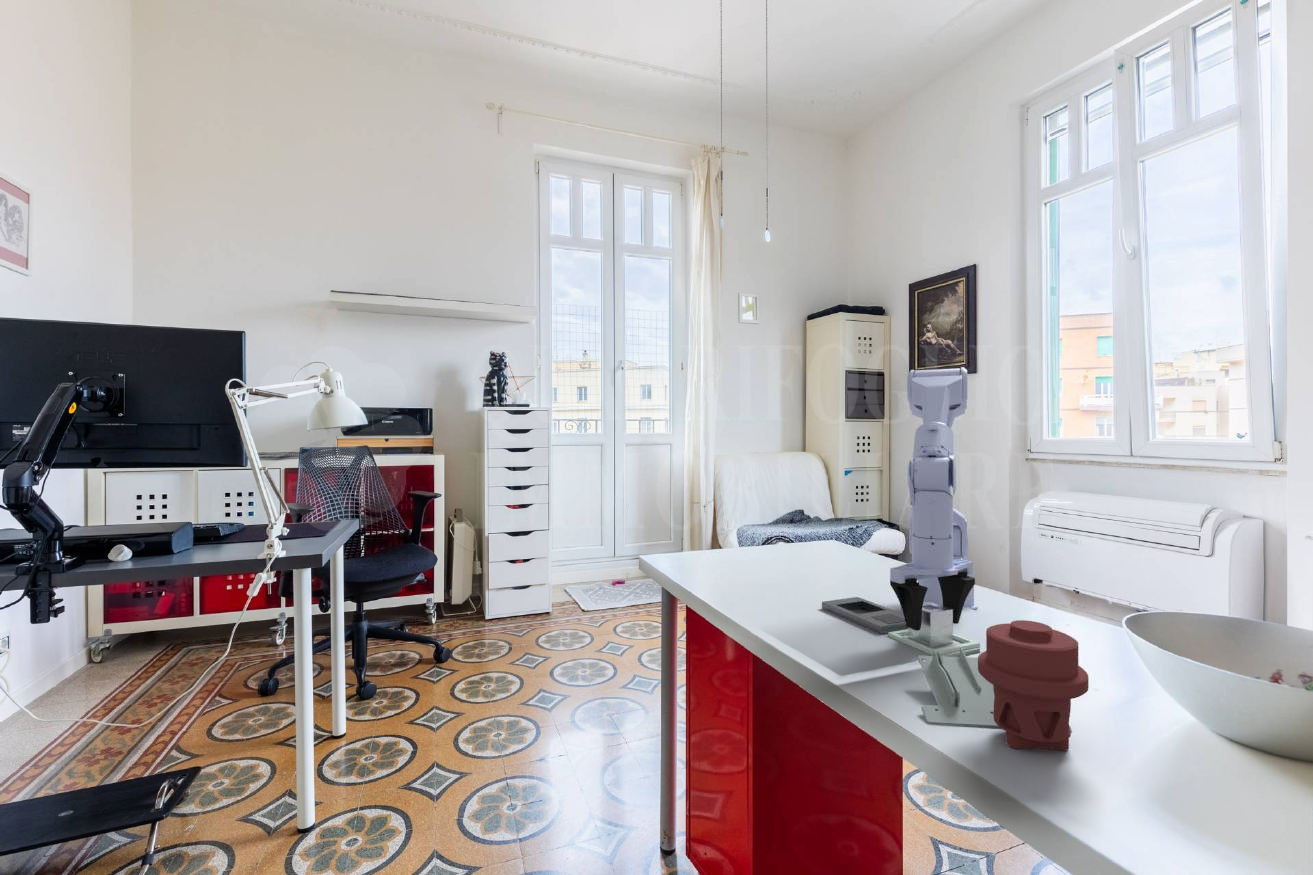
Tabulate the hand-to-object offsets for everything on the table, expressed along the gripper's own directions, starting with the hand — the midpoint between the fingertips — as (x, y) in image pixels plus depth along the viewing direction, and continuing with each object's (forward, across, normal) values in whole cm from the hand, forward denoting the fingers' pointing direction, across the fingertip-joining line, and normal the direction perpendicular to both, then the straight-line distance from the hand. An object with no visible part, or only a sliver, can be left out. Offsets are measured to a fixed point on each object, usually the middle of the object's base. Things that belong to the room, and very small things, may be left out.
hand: (932, 625), depth 92 cm
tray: (+3, 0, 0) cm, 3 cm away
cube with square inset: (+3, 0, 0) cm, 3 cm away
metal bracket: (+4, -10, -16) cm, 19 cm away
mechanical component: (+4, -12, -25) cm, 28 cm away
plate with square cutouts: (+3, -1, +13) cm, 13 cm away
